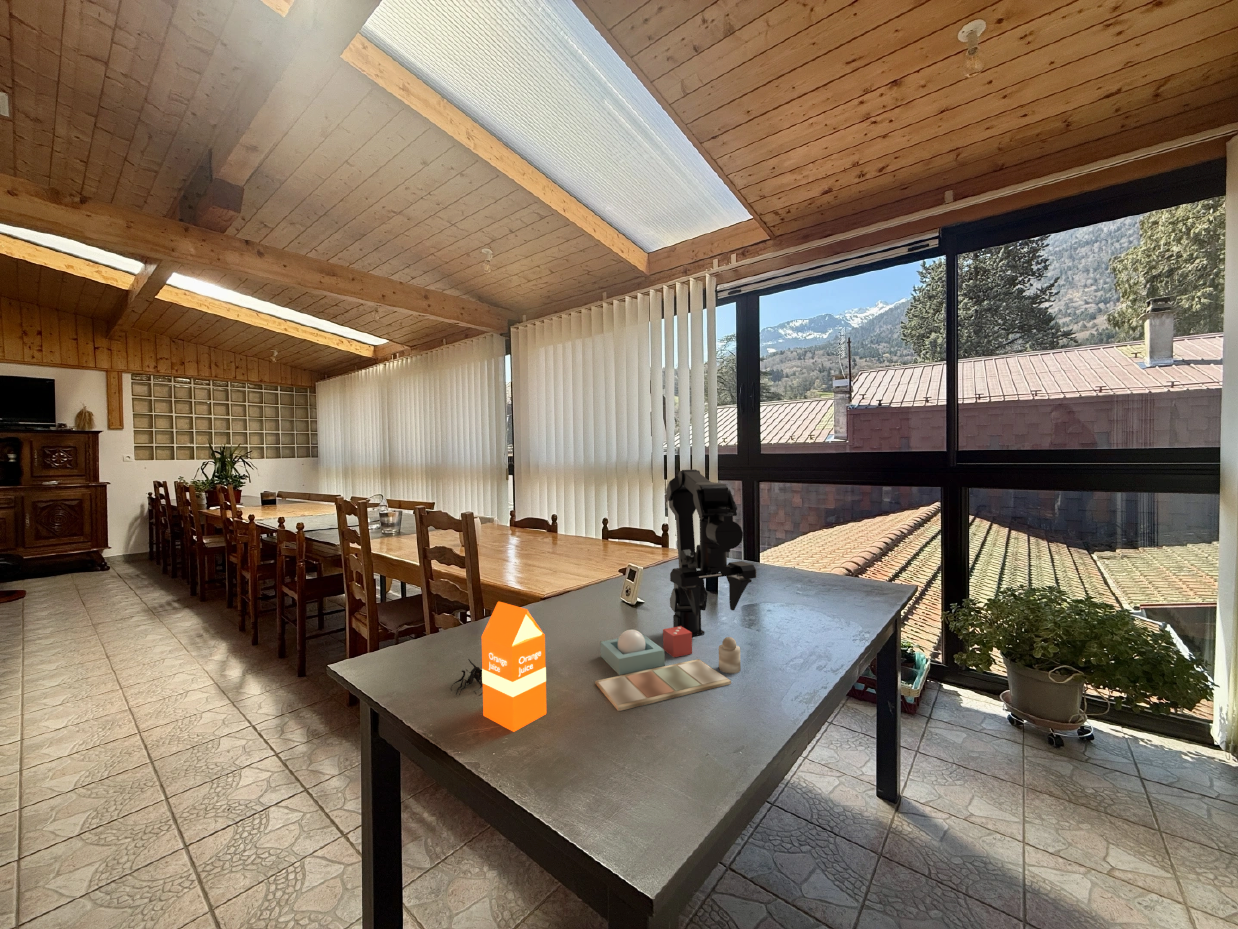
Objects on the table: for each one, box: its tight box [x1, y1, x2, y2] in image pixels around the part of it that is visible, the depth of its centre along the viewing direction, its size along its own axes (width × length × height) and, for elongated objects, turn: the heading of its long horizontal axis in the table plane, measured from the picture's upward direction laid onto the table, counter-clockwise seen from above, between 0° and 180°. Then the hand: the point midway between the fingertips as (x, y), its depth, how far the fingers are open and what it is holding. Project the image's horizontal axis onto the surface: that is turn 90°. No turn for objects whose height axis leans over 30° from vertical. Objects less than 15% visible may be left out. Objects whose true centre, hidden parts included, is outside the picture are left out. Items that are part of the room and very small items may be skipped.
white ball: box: [618, 629, 646, 655], centre depth 111 cm, size 6×6×6 cm
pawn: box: [718, 636, 741, 674], centre depth 106 cm, size 5×5×7 cm
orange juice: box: [480, 601, 547, 733], centre depth 88 cm, size 8×9×20 cm
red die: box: [662, 626, 693, 658], centre depth 115 cm, size 5×5×5 cm
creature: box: [450, 658, 483, 697], centre depth 98 cm, size 8×5×8 cm
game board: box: [594, 658, 732, 712], centre depth 99 cm, size 25×12×1 cm, turn 113°
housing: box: [599, 633, 666, 676], centre depth 111 cm, size 11×11×4 cm
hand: (714, 612), depth 106 cm, fingers open, 9 cm apart
